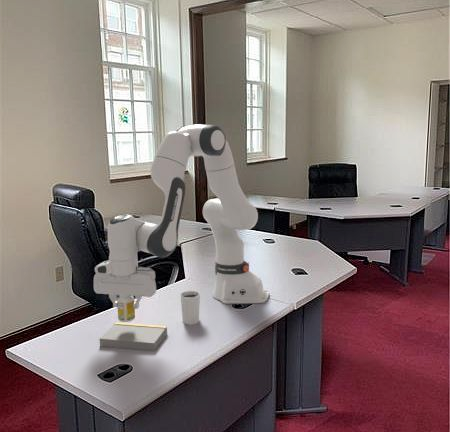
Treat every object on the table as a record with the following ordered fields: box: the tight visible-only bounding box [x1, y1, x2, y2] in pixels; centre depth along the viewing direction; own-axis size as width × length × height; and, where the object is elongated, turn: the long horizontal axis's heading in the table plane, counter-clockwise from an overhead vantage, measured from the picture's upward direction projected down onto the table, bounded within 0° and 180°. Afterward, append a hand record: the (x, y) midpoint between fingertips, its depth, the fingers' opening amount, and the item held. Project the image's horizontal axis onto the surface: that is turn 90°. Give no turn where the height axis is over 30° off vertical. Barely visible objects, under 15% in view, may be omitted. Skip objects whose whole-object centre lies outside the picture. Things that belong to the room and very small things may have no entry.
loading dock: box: [99, 322, 168, 352], centre depth 148 cm, size 18×12×3 cm, turn 78°
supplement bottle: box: [116, 293, 136, 323], centre depth 148 cm, size 5×5×10 cm
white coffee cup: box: [180, 290, 201, 326], centre depth 161 cm, size 7×7×10 cm
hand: (126, 307), depth 149 cm, fingers closed on supplement bottle, 5 cm apart
